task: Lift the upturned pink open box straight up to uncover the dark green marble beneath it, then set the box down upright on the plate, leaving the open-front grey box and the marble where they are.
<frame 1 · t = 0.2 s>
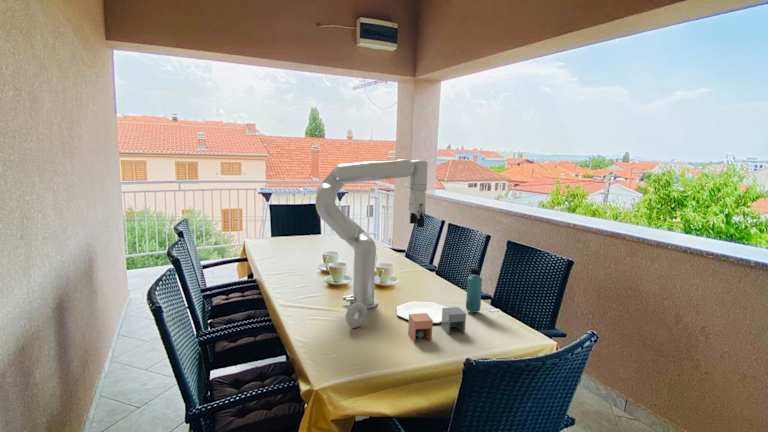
hand: (416, 225, 182), 37 cm above the table, tool pointing down, fingers open, 9 cm apart
beverage bottle: (472, 312, 177), on the table
pink open box: (419, 337, 150), on the table
open-front grey box: (452, 330, 158), on the table
donut: (356, 327, 158), on the table
plate: (423, 315, 174), on the table
marble: (419, 333, 150), in the pink open box
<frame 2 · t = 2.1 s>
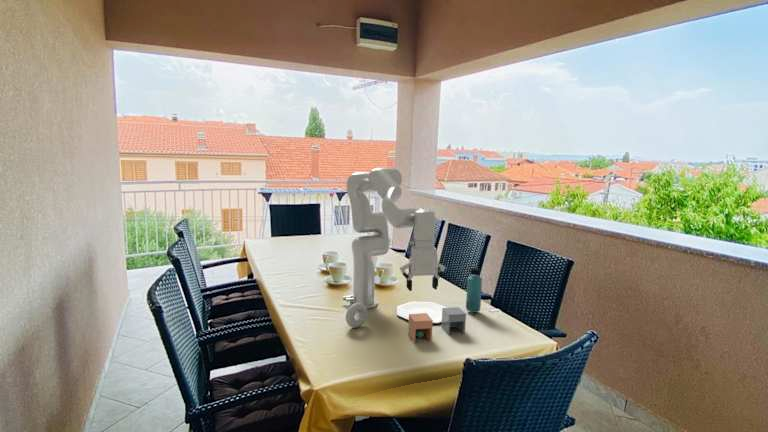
hand: (422, 289, 148), 19 cm above the table, tool pointing down, fingers open, 9 cm apart
nothing on the table moved.
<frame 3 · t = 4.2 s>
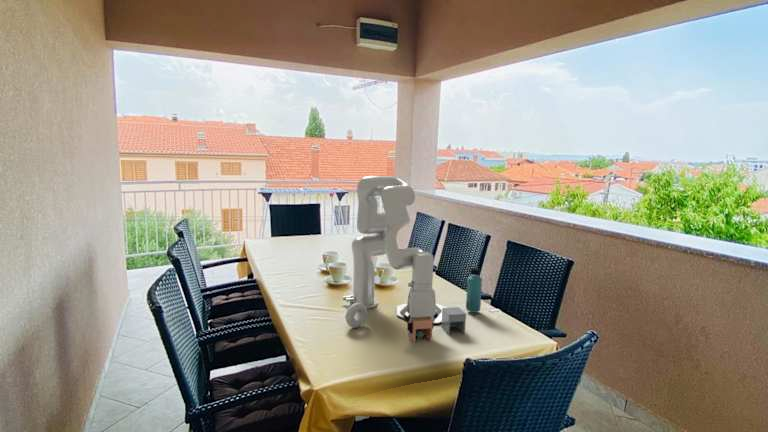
hand: (420, 330, 150), 3 cm above the table, tool pointing down, fingers closed on pink open box, 7 cm apart
pink open box: (419, 337, 150), on the table, touching gripper
everything else where it was.
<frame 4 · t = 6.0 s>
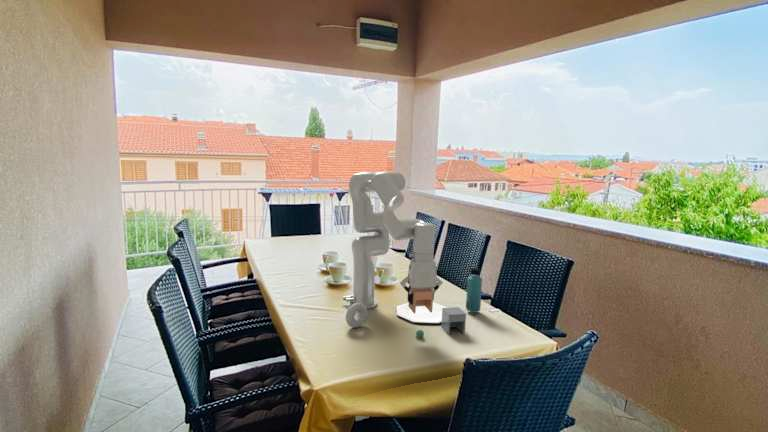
hand: (420, 302, 149), 14 cm above the table, tool pointing down, fingers closed on pink open box, 7 cm apart
pink open box: (420, 309, 149), point 11 cm above the table, touching gripper
everything else where it was.
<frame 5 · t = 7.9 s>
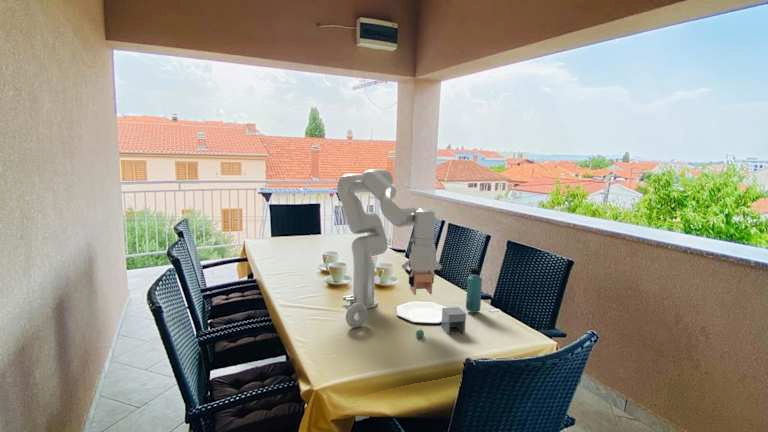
hand: (420, 285, 158), 17 cm above the table, tool pointing down, fingers closed on pink open box, 7 cm apart
pink open box: (420, 291, 158), point 15 cm above the table, touching gripper
everything else where it was.
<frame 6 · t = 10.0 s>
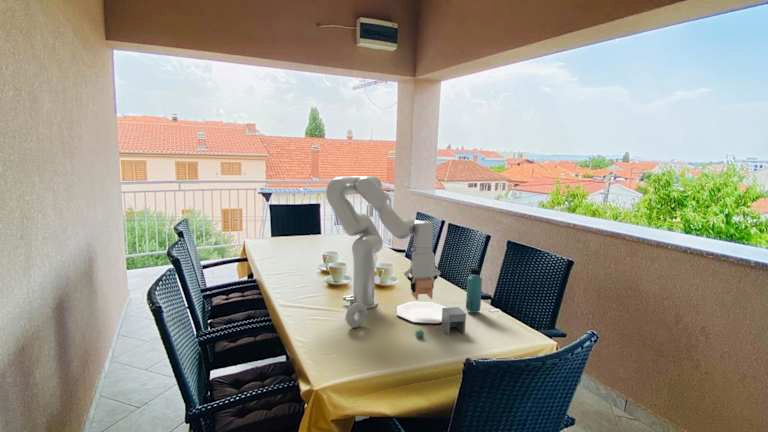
hand: (421, 290, 170), 11 cm above the table, tool pointing down, fingers closed on pink open box, 7 cm apart
pink open box: (421, 296, 171), point 8 cm above the table, touching gripper
everything else where it was.
when the fingers open (7 cm above the table, at t = 11.8 s): pink open box drops 3 cm, point 1 cm above the table.
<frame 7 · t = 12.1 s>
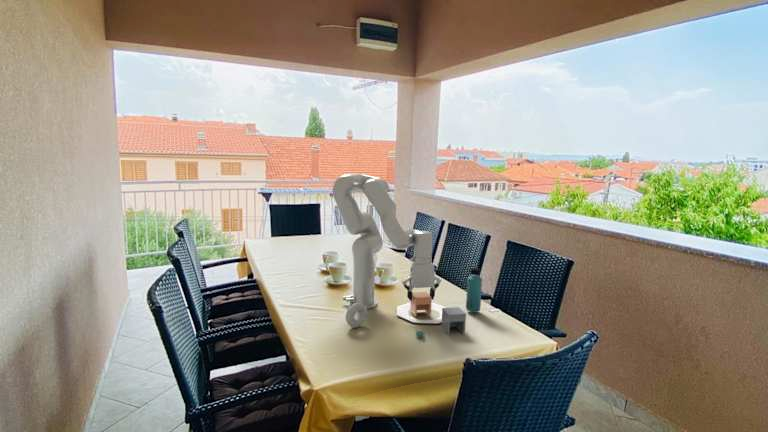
hand: (420, 299, 171), 7 cm above the table, tool pointing down, fingers open, 9 cm apart
pink open box: (420, 312, 172), point 1 cm above the table
everything else where it was.
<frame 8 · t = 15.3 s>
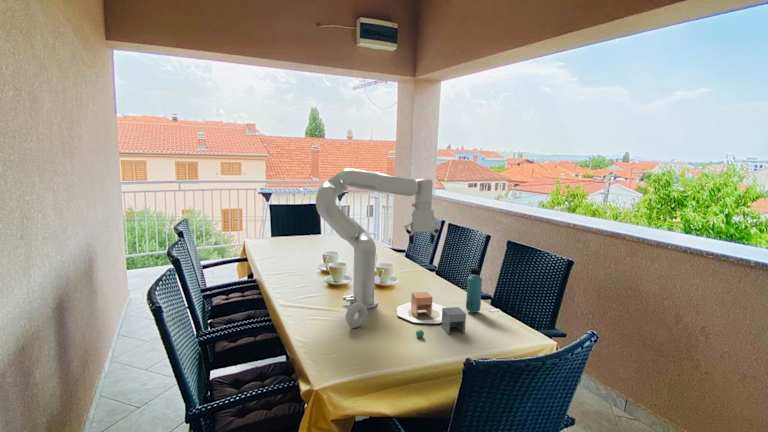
hand: (421, 243, 182), 28 cm above the table, tool pointing down, fingers open, 9 cm apart
pink open box: (421, 312, 172), point 1 cm above the table, touching plate
plate: (423, 315, 174), on the table, touching pink open box
everything else where it was.
at the end: pink open box inside the target area (0.4 cm from its centre), point 0.9 cm above the table; pink open box tilted 0°; marble moved 0.0 cm from its start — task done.
